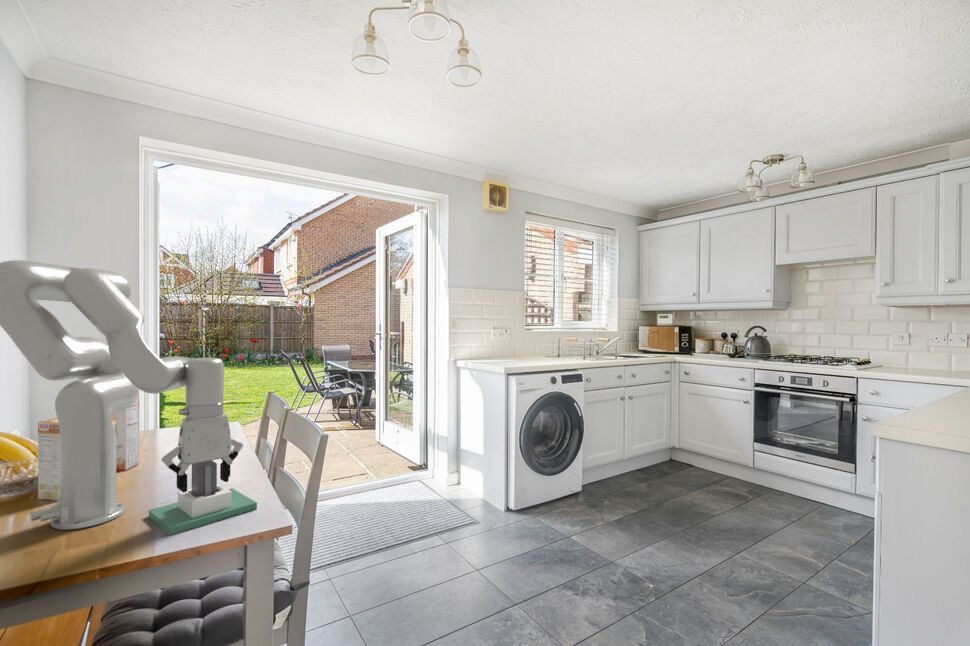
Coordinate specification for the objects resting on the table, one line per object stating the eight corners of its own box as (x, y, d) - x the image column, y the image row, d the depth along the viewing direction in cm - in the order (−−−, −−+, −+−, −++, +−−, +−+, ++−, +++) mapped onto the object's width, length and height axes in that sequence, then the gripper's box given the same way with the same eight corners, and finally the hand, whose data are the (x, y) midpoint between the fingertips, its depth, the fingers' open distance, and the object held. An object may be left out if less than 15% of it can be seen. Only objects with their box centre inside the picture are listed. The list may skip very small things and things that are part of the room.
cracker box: (75, 471, 134) (75, 400, 134) (92, 465, 140) (92, 396, 140) (124, 471, 135) (124, 400, 134) (139, 465, 141) (139, 396, 140)
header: (192, 518, 101) (192, 502, 101) (177, 506, 107) (178, 491, 107) (231, 506, 108) (231, 491, 108) (216, 496, 113) (216, 482, 113)
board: (169, 535, 96) (169, 528, 96) (148, 516, 105) (148, 509, 105) (256, 508, 110) (256, 502, 110) (232, 493, 119) (232, 488, 119)
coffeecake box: (93, 478, 129) (94, 409, 128) (116, 480, 128) (117, 410, 128) (35, 499, 114) (36, 420, 114) (61, 501, 113) (61, 422, 113)
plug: (198, 512, 104) (198, 468, 104) (191, 506, 107) (191, 463, 107) (217, 506, 107) (217, 464, 107) (210, 501, 110) (210, 459, 110)
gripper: (166, 419, 98) (165, 500, 99) (250, 407, 112) (249, 479, 112) (155, 414, 103) (155, 492, 103) (237, 403, 117) (236, 472, 117)
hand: (204, 485), depth 108 cm, fingers open, 8 cm apart
